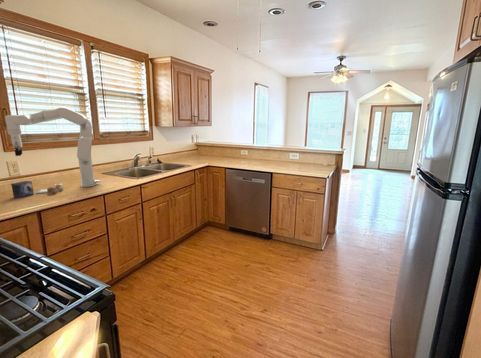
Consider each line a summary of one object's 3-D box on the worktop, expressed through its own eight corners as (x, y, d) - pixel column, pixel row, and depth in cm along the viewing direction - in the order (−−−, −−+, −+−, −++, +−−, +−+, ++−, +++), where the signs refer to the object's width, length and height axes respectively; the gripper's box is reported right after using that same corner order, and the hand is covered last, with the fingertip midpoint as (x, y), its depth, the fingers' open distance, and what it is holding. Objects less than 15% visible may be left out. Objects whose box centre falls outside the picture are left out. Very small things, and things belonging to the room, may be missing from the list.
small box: (19, 198, 188) (16, 184, 186) (13, 197, 190) (10, 183, 188) (34, 194, 198) (32, 181, 196) (28, 193, 200) (25, 180, 197)
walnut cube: (57, 192, 203) (56, 186, 202) (56, 194, 199) (54, 187, 198) (49, 193, 201) (48, 187, 200) (48, 195, 197) (46, 188, 196)
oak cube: (63, 189, 212) (62, 183, 211) (62, 190, 208) (61, 184, 207) (56, 190, 210) (55, 184, 209) (55, 191, 206) (54, 185, 205)
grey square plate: (54, 189, 212) (54, 188, 212) (52, 192, 203) (51, 191, 203) (39, 190, 208) (39, 189, 207) (36, 194, 199) (36, 192, 199)
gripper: (20, 132, 189) (24, 155, 193) (22, 131, 203) (26, 153, 207) (6, 132, 185) (11, 156, 189) (9, 131, 199) (14, 154, 203)
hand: (19, 154), depth 198 cm, fingers open, 9 cm apart
